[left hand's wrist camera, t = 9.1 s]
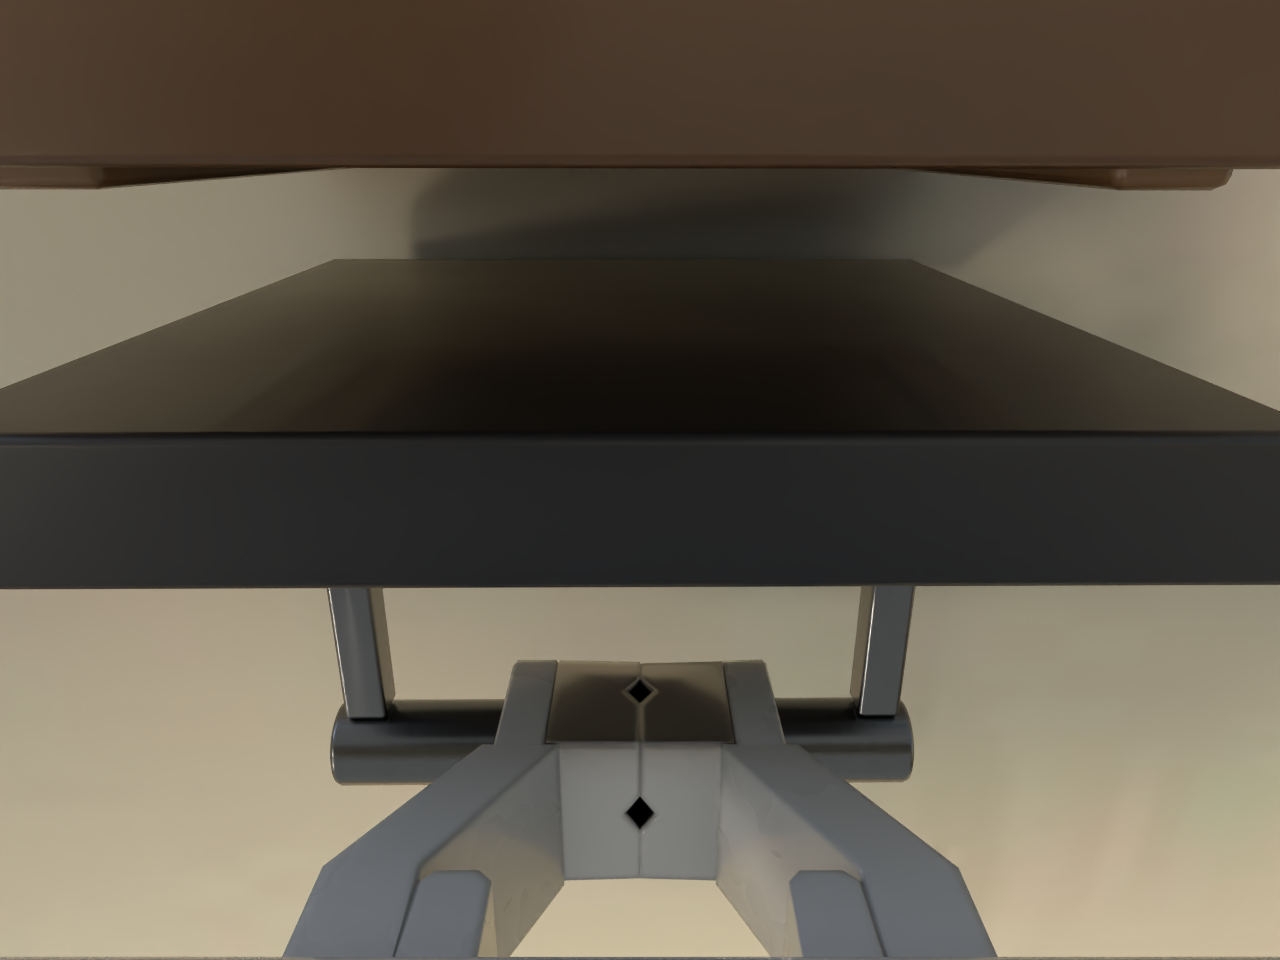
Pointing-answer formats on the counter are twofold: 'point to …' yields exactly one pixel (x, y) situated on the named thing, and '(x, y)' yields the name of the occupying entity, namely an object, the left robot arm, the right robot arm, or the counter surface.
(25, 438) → the drawer
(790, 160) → the cabinet
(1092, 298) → the counter surface
